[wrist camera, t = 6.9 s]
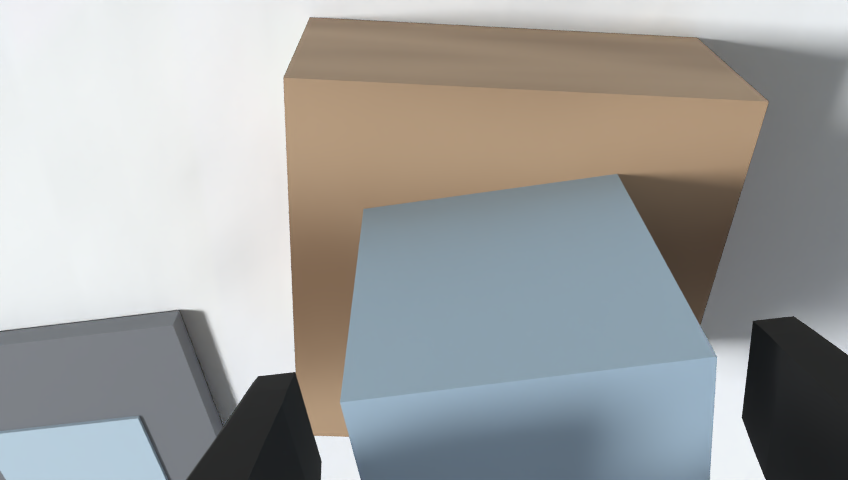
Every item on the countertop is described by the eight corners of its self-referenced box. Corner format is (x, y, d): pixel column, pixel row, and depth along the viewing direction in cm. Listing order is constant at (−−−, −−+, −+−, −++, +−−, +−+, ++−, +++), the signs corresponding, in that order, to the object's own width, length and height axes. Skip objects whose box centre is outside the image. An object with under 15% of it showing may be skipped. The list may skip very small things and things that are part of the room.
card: (272, 559, 24) (269, 578, 24) (32, 582, 25) (23, 602, 24) (179, 310, 19) (171, 327, 18) (-122, 346, 19) (-140, 364, 19)
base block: (620, 332, 20) (663, 446, 17) (318, 322, 20) (298, 435, 16) (692, 33, 16) (769, 101, 12) (311, 13, 16) (283, 77, 12)
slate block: (621, 371, 15) (702, 594, 11) (403, 398, 16) (400, 624, 11) (617, 174, 13) (717, 356, 9) (363, 209, 13) (340, 402, 9)
